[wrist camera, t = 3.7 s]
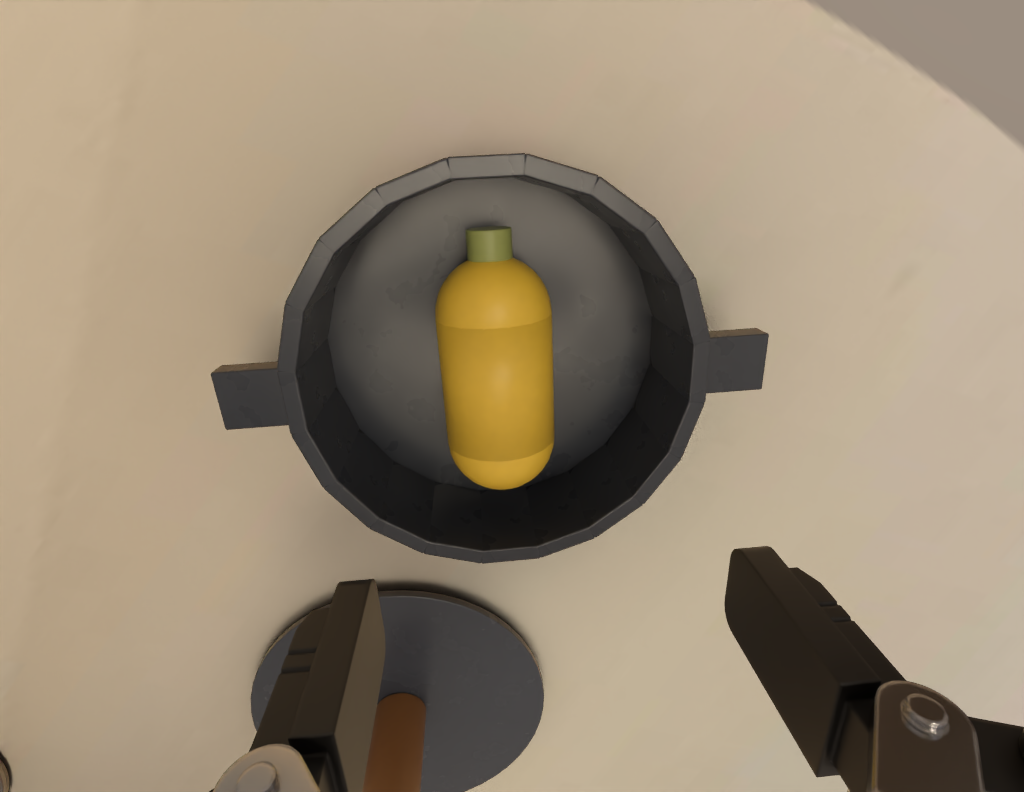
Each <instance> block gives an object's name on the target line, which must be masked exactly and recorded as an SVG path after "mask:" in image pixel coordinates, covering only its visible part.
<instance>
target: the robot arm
mask: <svg viewBox="0 0 1024 792" xmlns="http://www.w3.org/2000/svg"><path fill="white" fill-rule="evenodd" d="M725 613H726V618H727V622H728V625H729V627H730V630H731V631H732V633H733V635H734V637H735V638H736V640H737V642H738V644H739V645H740V647H741V649H742V650H743V652H744V654H745V656H746V657H747V659H748V661H749V662H750V664H751V666H752V668H753V669H754V671H755V673H756V674H757V676H758V678H759V679H760V681H761V683H762V685H763V686H764V688H765V690H766V691H767V693H768V695H769V697H770V698H771V700H772V702H773V703H774V705H775V707H776V709H777V710H778V712H779V714H780V715H781V717H782V719H783V721H784V722H785V724H786V726H787V727H788V729H789V731H790V732H791V734H792V736H793V738H794V739H795V741H796V743H797V744H798V746H799V748H800V750H801V751H802V753H803V755H804V756H805V758H806V760H807V762H808V763H809V765H810V767H811V768H812V770H813V772H814V774H815V775H816V777H824V776H833V775H840V776H841V777H842V779H843V781H844V782H845V784H846V785H847V787H848V790H847V792H1024V727H1020V726H1015V725H1010V724H1004V723H999V722H993V721H988V720H983V719H977V718H972V717H968V716H966V714H965V713H964V712H963V711H962V710H961V709H960V708H959V707H958V706H957V705H956V704H954V703H953V702H952V701H950V700H949V699H948V698H946V697H945V696H943V695H941V694H940V693H938V692H936V691H934V690H932V689H930V688H928V687H926V686H923V685H920V684H917V683H913V682H908V681H906V680H905V679H904V678H903V676H902V675H901V674H900V673H899V672H898V671H897V670H896V668H895V667H894V666H893V665H892V664H891V663H890V662H889V660H888V659H887V658H886V657H885V656H884V655H883V654H882V653H881V651H880V650H879V649H878V648H877V647H876V646H875V645H874V643H873V642H872V641H871V640H870V639H869V638H868V637H867V635H866V634H865V633H864V632H863V631H862V630H861V629H860V627H859V626H858V625H857V624H856V623H855V622H854V621H851V619H850V616H849V615H848V614H847V613H846V611H845V610H844V609H843V608H842V607H841V606H840V605H837V601H836V600H835V599H834V598H833V597H832V595H831V594H830V593H829V592H828V591H827V590H826V589H825V587H824V586H823V585H822V584H821V583H820V582H818V581H817V580H815V579H814V578H812V577H811V576H809V575H808V574H806V573H805V572H803V571H802V570H800V569H799V568H788V567H787V565H786V564H785V563H784V562H783V561H782V559H781V558H780V557H779V556H778V555H777V553H776V552H775V551H774V550H773V549H772V548H771V547H768V546H763V547H752V548H740V549H734V550H733V551H732V554H731V558H730V565H729V573H728V580H727V588H726V595H725ZM384 662H385V631H384V625H383V619H382V614H381V608H380V602H379V596H378V590H377V585H376V582H375V580H374V579H368V580H356V581H345V582H339V583H338V585H337V587H336V590H335V593H334V596H333V599H332V603H331V606H330V608H322V609H313V610H312V612H311V613H310V614H309V615H308V616H307V617H306V618H305V620H304V621H303V622H302V623H301V624H300V625H299V626H298V628H297V629H296V631H295V634H294V636H293V639H292V642H291V644H290V647H289V650H288V655H286V657H285V660H284V663H283V665H282V668H281V674H279V676H278V678H277V681H276V684H275V686H274V689H273V691H272V694H271V697H270V699H269V702H268V705H267V707H266V710H265V712H264V715H263V718H262V720H261V723H260V726H259V728H258V731H257V733H256V736H255V739H254V741H253V744H252V746H251V748H250V750H249V752H248V753H247V754H245V755H243V756H242V757H241V758H239V759H238V760H237V761H236V762H234V763H233V764H232V765H231V766H230V767H229V768H228V769H227V770H226V772H225V773H224V774H223V775H222V777H221V778H220V779H219V781H218V783H217V784H216V786H215V788H214V789H212V790H211V791H209V792H362V790H363V784H364V778H365V772H366V766H367V761H368V755H369V749H370V743H371V737H372V732H373V726H374V720H375V714H376V708H377V703H378V697H379V691H380V685H381V679H382V674H383V668H384ZM8 790H9V776H8V772H7V769H6V767H5V765H4V764H3V762H2V761H1V759H0V792H8Z"/></svg>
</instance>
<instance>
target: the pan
mask: <svg viewBox="0 0 1024 792" xmlns="http://www.w3.org/2000/svg"><path fill="white" fill-rule="evenodd" d="M489 226H508V227H511V231H512V252H513V258H515V259H517V260H519V261H521V262H523V263H525V264H526V265H527V266H529V267H530V268H531V269H533V270H534V271H535V273H536V274H537V275H538V276H539V277H540V278H541V280H542V282H543V283H544V285H545V287H546V289H547V292H548V295H549V298H550V302H551V310H552V343H553V390H554V446H553V449H552V452H551V455H550V459H549V460H548V462H547V464H546V465H545V467H544V468H543V470H542V471H541V472H540V473H539V474H538V475H537V476H536V477H535V478H534V479H532V480H531V481H529V482H527V483H525V484H524V485H522V486H519V487H516V488H512V489H506V490H497V489H490V488H486V487H484V486H481V485H478V484H476V483H474V482H473V481H471V480H470V479H469V478H468V477H466V476H465V475H464V474H463V473H462V472H461V471H460V469H459V468H458V467H457V465H456V464H455V462H454V460H453V458H452V456H451V453H450V448H449V444H448V436H447V426H446V417H445V407H444V397H443V387H442V378H441V368H440V358H439V349H438V339H437V329H436V320H435V306H436V301H437V296H438V293H439V291H440V288H441V286H442V284H443V283H444V281H445V280H446V278H447V277H448V275H449V274H450V273H451V272H452V271H453V270H454V269H455V268H456V267H457V266H459V265H460V264H462V263H463V262H465V261H467V260H468V259H467V246H466V233H465V231H466V229H469V228H476V227H489ZM768 336H769V335H768V334H767V333H765V332H763V331H761V330H759V329H757V328H750V329H736V330H721V331H708V327H707V322H706V318H705V314H704V310H703V306H702V302H701V298H700V294H699V289H698V285H697V281H696V278H695V277H694V274H693V273H692V271H691V270H690V268H689V267H688V265H687V264H686V262H685V261H684V259H683V258H682V256H681V254H680V253H679V251H678V250H677V248H676V247H675V245H674V244H673V242H672V241H671V239H670V238H669V236H668V235H667V233H666V232H665V230H664V229H663V227H662V225H661V224H660V222H659V221H658V220H656V218H655V217H654V216H652V215H651V214H650V213H648V212H647V211H646V210H644V209H643V208H642V207H640V206H639V205H638V204H636V203H635V202H634V201H632V200H631V199H630V198H628V197H627V196H626V195H624V194H623V193H622V192H620V191H619V190H618V189H616V188H615V187H614V186H612V185H611V184H610V183H608V182H607V181H606V180H604V179H603V178H602V177H598V175H596V174H593V173H589V172H586V171H583V170H580V169H576V168H573V167H570V166H566V165H563V164H560V163H557V162H553V161H550V160H547V159H543V158H540V157H537V156H534V155H530V154H525V153H517V154H497V155H477V156H457V157H448V158H443V159H441V160H439V161H436V162H434V163H431V164H429V165H426V166H424V167H422V168H419V169H417V170H414V171H412V172H410V173H407V174H405V175H402V176H400V177H398V178H395V179H393V180H390V181H388V182H386V183H383V184H381V185H378V186H376V188H373V189H372V190H371V191H370V192H368V193H367V194H366V195H365V196H364V197H363V198H362V199H361V200H360V201H359V202H358V203H356V204H355V205H354V206H353V207H352V208H351V209H350V210H349V211H348V212H347V213H346V214H344V215H343V216H342V217H341V218H340V219H339V220H338V221H337V222H336V223H335V224H334V225H332V226H331V227H330V228H329V229H328V230H327V231H326V232H325V233H324V234H323V235H322V236H320V237H319V239H318V240H317V242H316V244H315V246H314V248H313V250H312V252H311V253H310V255H309V257H308V259H307V261H306V263H305V265H304V267H303V269H302V271H301V273H300V275H299V277H298V279H297V281H296V283H295V284H294V286H293V288H292V290H291V292H290V294H289V296H288V298H287V300H286V304H285V307H284V315H283V323H282V331H281V339H280V347H279V355H278V362H264V363H249V364H235V365H222V366H220V367H219V368H217V369H216V370H215V371H213V372H212V373H211V377H212V381H213V384H214V388H215V392H216V395H217V399H218V403H219V406H220V410H221V414H222V418H223V421H224V425H225V428H226V429H227V430H229V429H243V428H256V427H269V426H282V425H289V428H290V433H291V434H292V437H293V439H294V441H295V442H296V444H297V446H298V447H299V449H300V451H301V452H302V454H303V456H304V457H305V459H306V461H307V462H308V464H309V465H310V467H311V469H312V470H313V472H314V474H315V475H316V477H317V479H318V480H319V482H320V484H321V485H322V487H324V489H325V490H326V491H327V492H328V493H329V494H330V495H332V496H333V497H334V498H335V499H336V500H337V501H338V502H340V503H341V504H342V505H343V506H344V507H345V508H346V509H348V510H349V511H350V512H351V513H352V514H353V515H354V516H356V517H357V518H358V519H359V520H360V521H361V522H362V523H364V524H365V525H366V526H367V527H370V529H371V530H374V531H376V532H378V533H380V534H382V535H384V536H386V537H389V538H391V539H393V540H395V541H397V542H399V543H402V544H404V545H406V546H408V547H410V548H412V549H414V550H417V551H419V552H421V553H424V554H428V555H434V556H440V557H446V558H452V559H458V560H464V561H470V562H476V563H481V562H482V563H493V562H504V561H515V560H526V559H537V558H540V557H544V556H547V555H550V554H552V553H555V552H558V551H561V550H563V549H566V548H569V547H572V546H574V545H577V544H580V543H583V542H586V541H588V540H591V539H594V537H597V536H599V535H600V534H602V533H603V532H604V531H606V530H607V529H609V528H610V527H612V526H613V525H615V524H616V523H617V522H619V521H620V520H622V519H623V518H625V517H626V516H627V515H629V514H630V513H632V512H633V511H635V510H636V509H637V508H639V507H640V506H642V505H643V504H644V503H645V502H646V501H647V500H648V499H649V497H650V496H651V495H652V494H653V493H654V491H655V490H656V489H657V488H658V486H659V485H660V484H661V483H662V482H663V480H664V479H665V478H666V477H667V476H668V474H669V473H670V472H671V471H672V469H673V468H674V467H675V466H676V465H677V463H678V462H679V461H680V460H681V457H682V456H683V453H684V451H685V448H686V446H687V444H688V441H689V439H690V437H691V434H692V432H693V430H694V427H695V425H696V423H697V420H698V418H699V415H700V413H701V411H702V408H703V406H704V402H705V397H706V393H717V392H730V391H743V390H756V389H761V388H762V382H763V374H764V367H765V359H766V352H767V344H768Z"/></svg>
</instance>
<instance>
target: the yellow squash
mask: <svg viewBox="0 0 1024 792" xmlns="http://www.w3.org/2000/svg"><path fill="white" fill-rule="evenodd" d="M465 233H466V246H467V259H468V260H467V261H465V262H463V263H462V264H460V265H459V266H457V267H456V268H455V269H454V270H453V271H452V272H451V273H450V274H449V275H448V277H447V278H446V280H445V281H444V283H443V284H442V286H441V288H440V291H439V293H438V296H437V301H436V306H435V320H436V329H437V339H438V349H439V358H440V368H441V378H442V387H443V397H444V407H445V417H446V426H447V436H448V444H449V448H450V453H451V456H452V458H453V460H454V462H455V464H456V465H457V467H458V468H459V469H460V471H461V472H462V473H463V474H464V475H465V476H466V477H468V478H469V479H470V480H471V481H473V482H474V483H476V484H478V485H481V486H484V487H486V488H490V489H497V490H506V489H512V488H516V487H519V486H522V485H524V484H525V483H527V482H529V481H531V480H532V479H534V478H535V477H536V476H537V475H538V474H539V473H540V472H541V471H542V470H543V468H544V467H545V465H546V464H547V462H548V460H549V459H550V455H551V452H552V449H553V446H554V390H553V343H552V310H551V302H550V298H549V295H548V292H547V289H546V287H545V285H544V283H543V282H542V280H541V278H540V277H539V276H538V275H537V274H536V273H535V271H534V270H533V269H531V268H530V267H529V266H527V265H526V264H525V263H523V262H521V261H519V260H517V259H515V258H513V252H512V231H511V227H508V226H489V227H476V228H469V229H466V231H465Z"/></svg>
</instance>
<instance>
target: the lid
mask: <svg viewBox="0 0 1024 792" xmlns="http://www.w3.org/2000/svg"><path fill="white" fill-rule="evenodd" d="M378 596H379V602H380V608H381V614H382V619H383V625H384V631H385V662H384V668H383V674H382V679H381V685H380V691H379V697H378V703H377V708H376V714H375V720H374V726H373V732H372V737H371V743H370V749H369V755H368V761H367V766H366V772H365V778H364V784H363V790H362V792H464V791H467V790H469V789H472V788H474V787H476V786H478V785H480V784H482V783H484V782H486V781H487V780H489V779H491V778H493V777H494V776H496V775H497V774H499V773H500V772H501V771H503V770H504V769H505V768H507V767H508V766H509V765H510V764H511V763H512V762H513V761H514V760H515V759H516V758H518V757H519V755H520V754H521V753H522V752H523V750H524V749H525V748H526V747H527V746H528V744H529V742H530V741H531V739H532V737H533V736H534V734H535V732H536V730H537V727H538V725H539V722H540V719H541V715H542V711H543V702H544V691H543V683H542V676H541V673H540V670H539V666H538V663H537V661H536V659H535V657H534V655H533V653H532V651H531V650H530V648H529V647H528V646H527V644H526V643H525V642H524V640H523V639H522V638H521V636H520V635H519V634H518V633H517V632H516V631H514V630H513V629H512V628H511V627H510V626H509V625H508V624H507V623H505V622H504V621H503V620H501V619H500V618H498V617H497V616H496V615H494V614H492V613H490V612H488V611H487V610H485V609H483V608H481V607H479V606H477V605H474V604H472V603H469V602H467V601H464V600H461V599H458V598H454V597H451V596H447V595H443V594H437V593H431V592H425V591H411V590H392V591H379V592H378ZM330 606H331V603H330V604H328V605H325V606H323V607H321V608H319V609H322V608H330ZM309 614H310V613H309ZM309 614H308V615H309ZM308 615H306V616H304V617H303V618H302V619H300V620H299V621H297V622H296V623H294V624H293V625H291V626H290V627H289V628H288V629H287V630H286V631H285V632H284V633H283V634H282V635H281V636H279V637H278V639H277V640H276V641H275V642H274V644H273V645H272V646H271V647H270V649H269V650H268V651H267V653H266V655H265V657H264V658H263V660H262V662H261V664H260V666H259V668H258V671H257V674H256V677H255V679H254V682H253V687H252V694H251V713H252V717H253V721H254V726H255V728H256V731H258V728H259V726H260V723H261V720H262V718H263V715H264V712H265V710H266V707H267V705H268V702H269V699H270V697H271V694H272V691H273V689H274V686H275V684H276V681H277V678H278V676H279V674H281V668H282V665H283V663H284V660H285V657H286V655H288V650H289V647H290V644H291V642H292V639H293V636H294V634H295V631H296V629H297V628H298V626H299V625H300V624H301V623H302V622H303V621H304V620H305V618H306V617H307V616H308Z"/></svg>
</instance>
